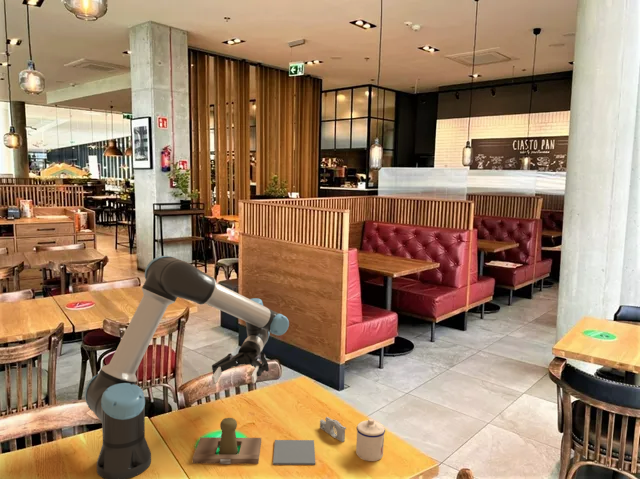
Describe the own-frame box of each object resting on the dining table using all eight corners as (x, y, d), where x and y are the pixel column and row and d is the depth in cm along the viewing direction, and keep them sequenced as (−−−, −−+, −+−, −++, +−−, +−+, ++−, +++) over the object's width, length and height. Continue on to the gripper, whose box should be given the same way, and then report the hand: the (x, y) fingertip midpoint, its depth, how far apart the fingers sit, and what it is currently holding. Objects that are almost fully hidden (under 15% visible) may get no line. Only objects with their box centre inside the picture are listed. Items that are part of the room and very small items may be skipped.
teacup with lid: (387, 461, 151) (389, 426, 149) (359, 463, 149) (361, 428, 148) (376, 440, 162) (377, 408, 161) (350, 442, 161) (351, 409, 159)
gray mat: (272, 464, 147) (273, 462, 147) (274, 441, 160) (275, 439, 160) (315, 464, 147) (315, 463, 147) (313, 441, 160) (313, 440, 160)
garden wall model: (319, 428, 169) (319, 412, 168) (322, 426, 170) (323, 411, 170) (342, 443, 160) (342, 426, 159) (346, 441, 161) (346, 424, 161)
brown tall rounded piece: (233, 459, 149) (234, 425, 148) (215, 456, 150) (215, 423, 149) (240, 448, 155) (241, 416, 153) (223, 446, 156) (223, 414, 155)
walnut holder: (192, 464, 145) (192, 459, 145) (200, 441, 158) (200, 437, 158) (258, 464, 146) (258, 459, 146) (261, 442, 159) (261, 437, 159)
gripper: (284, 357, 177) (271, 389, 157) (220, 359, 181) (199, 390, 161) (282, 339, 175) (268, 368, 155) (217, 341, 179) (195, 370, 159)
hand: (233, 380), depth 158 cm, fingers open, 13 cm apart
